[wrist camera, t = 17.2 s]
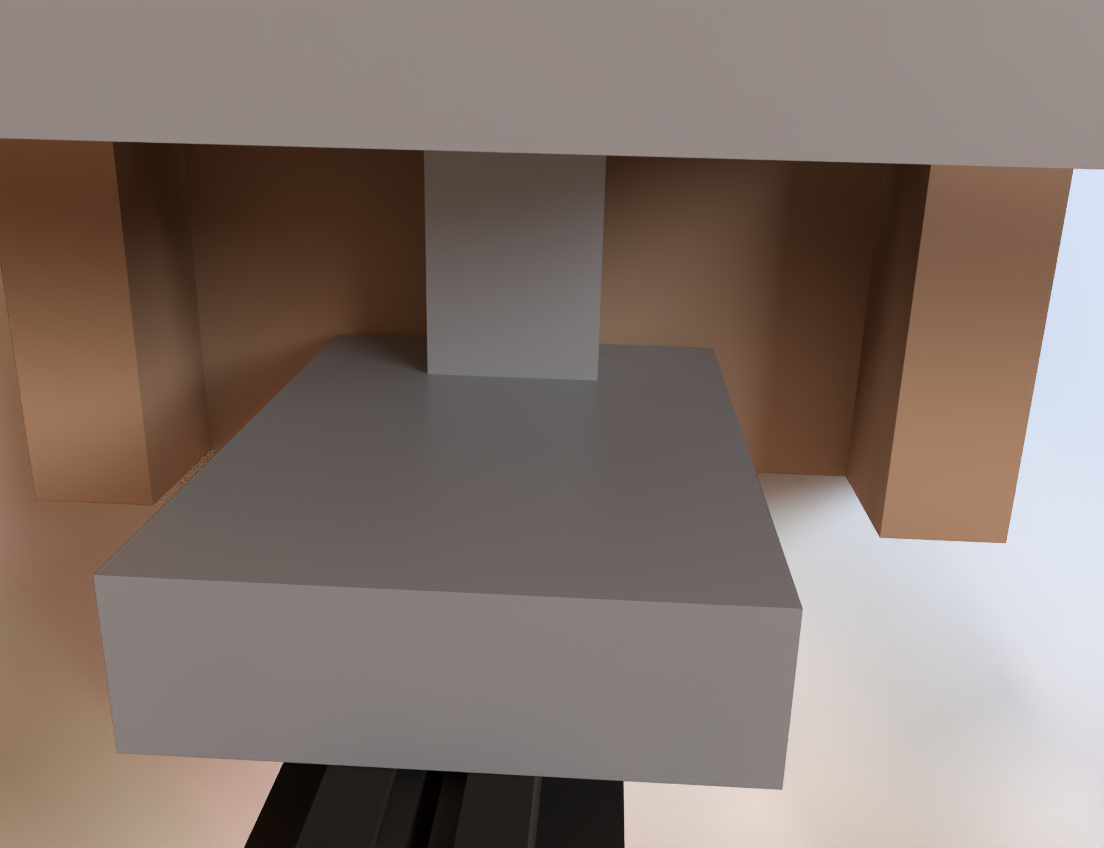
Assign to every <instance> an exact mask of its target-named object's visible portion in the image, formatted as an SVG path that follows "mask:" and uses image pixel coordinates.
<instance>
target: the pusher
mask: <svg viewBox="0 0 1104 848" xmlns="http://www.w3.org/2000/svg"><path fill="white" fill-rule="evenodd" d="M0 138H10V139H46V140H81V141H117V142H152V143H188V144H223V145H258V146H294V147H329V148H365V149H400V150H424V179H425V240H426V301H427V337H400V336H373V335H345V334H338V335H337V336H336V337H334V338H333V339H332V340H331V341H330V342H329V343H328V344H327V345H326V346H325V347H324V348H323V349H322V350H321V351H320V352H319V353H318V354H317V355H316V356H315V357H314V358H313V359H312V360H311V361H310V362H309V363H308V364H307V365H306V366H305V367H304V368H303V369H302V370H301V371H300V372H299V373H298V374H297V375H296V376H295V377H294V378H293V379H292V380H291V381H290V382H289V383H288V384H287V385H286V386H285V387H284V388H283V389H282V390H281V391H280V392H279V393H278V394H277V395H276V396H275V397H274V398H273V399H272V400H271V401H269V402H268V403H267V404H266V405H265V406H264V407H263V408H262V409H261V410H260V411H259V412H258V413H257V414H256V415H255V416H254V417H253V418H252V419H251V420H250V421H249V422H248V423H247V424H246V425H245V426H244V427H243V428H242V429H241V430H240V431H239V432H238V433H237V434H236V435H235V436H234V437H233V438H232V439H231V440H230V441H229V442H228V443H227V444H226V445H225V446H224V447H223V448H222V449H221V450H220V451H219V452H218V453H217V454H216V455H215V456H214V457H213V458H212V459H211V460H210V461H209V462H208V463H207V464H205V465H204V466H203V467H202V468H201V469H200V470H199V471H198V472H197V473H196V474H195V475H194V476H193V477H192V478H191V479H190V480H189V481H188V482H187V483H186V484H185V485H184V486H183V487H182V488H181V489H180V490H179V491H178V492H177V493H176V494H175V495H174V496H173V497H172V498H171V499H170V500H169V501H168V502H167V503H166V504H165V505H164V506H163V507H162V508H161V509H160V510H159V511H158V512H157V513H156V514H155V515H154V516H153V517H152V518H151V519H150V520H149V521H148V522H147V523H146V524H145V525H144V526H143V527H142V528H140V529H139V530H138V531H137V532H136V533H135V534H134V535H133V536H132V537H131V538H130V539H129V540H128V541H127V542H126V543H125V544H124V545H123V546H122V547H121V548H120V549H119V550H118V551H117V552H116V553H115V554H114V555H113V556H112V557H111V558H110V559H109V560H108V561H107V562H106V563H105V564H104V565H103V566H102V567H101V568H100V569H99V570H98V571H97V572H96V573H95V574H94V575H93V577H94V585H95V592H96V600H97V607H98V615H99V622H100V630H101V637H102V645H103V652H104V660H105V667H106V675H107V682H108V690H109V697H110V705H111V712H112V720H113V727H114V735H115V742H116V750H117V753H130V754H148V755H166V756H184V757H202V758H220V759H238V760H256V761H274V762H292V763H310V764H328V765H346V766H364V767H382V768H400V769H418V770H436V771H454V772H472V773H490V774H508V775H526V776H544V777H562V778H580V779H598V780H616V781H634V782H652V783H671V784H689V785H707V786H725V787H743V788H761V789H779V790H782V786H783V777H784V769H785V760H786V751H787V742H788V733H789V725H790V716H791V707H792V698H793V689H794V681H795V672H796V663H797V654H798V645H799V636H800V628H801V619H802V610H803V608H802V606H801V603H800V600H799V597H798V594H797V591H796V588H795V585H794V582H793V579H792V576H791V573H790V571H789V568H788V565H787V562H786V559H785V556H784V553H783V550H782V547H781V544H780V541H779V538H778V536H777V533H776V530H775V527H774V524H773V521H772V518H771V515H770V512H769V509H768V506H767V503H766V501H765V498H764V495H763V492H762V489H761V486H760V483H759V480H758V477H757V474H756V471H755V469H754V466H753V463H752V460H751V457H750V454H749V451H748V448H747V445H746V442H745V439H744V436H743V434H742V431H741V428H740V425H739V422H738V419H737V416H736V413H735V410H734V407H733V404H732V401H731V399H730V396H729V393H728V390H727V387H726V384H725V381H724V378H723V375H722V372H721V369H720V366H719V364H718V361H717V358H716V355H715V352H714V349H713V348H702V347H674V346H647V345H619V344H599V331H600V305H601V279H602V253H603V227H604V201H605V175H606V155H612V156H648V157H683V158H719V159H754V160H789V161H825V162H860V163H896V164H931V165H966V166H1002V167H1037V168H1073V169H1104V0H0Z"/></svg>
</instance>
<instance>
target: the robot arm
mask: <svg viewBox="0 0 1104 848" xmlns="http://www.w3.org/2000/svg"><path fill="white" fill-rule="evenodd" d="M244 848H624V787H623V781H616V780H598V779H580V778H562V777H544V776H526V775H508V774H490V773H472V772H454V771H436V770H418V769H400V768H382V767H364V766H346V765H328V764H310V763H292V762H284V763H283V765H282V767H281V769H280V771H279V773H278V776H277V778H276V780H275V782H274V784H273V786H272V789H271V791H270V793H269V795H268V797H267V799H266V801H265V804H264V806H263V808H262V810H261V812H260V814H259V817H258V819H257V821H256V823H255V825H254V827H253V830H252V832H251V834H250V836H249V838H248V840H247V843H246V845H245V847H244Z"/></svg>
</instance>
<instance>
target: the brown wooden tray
mask: <svg viewBox="0 0 1104 848" xmlns="http://www.w3.org/2000/svg"><path fill="white" fill-rule="evenodd" d="M1072 174H1073V168H1037V167H1002V166H966V165H931V164H896V163H860V162H825V161H789V160H754V159H719V158H683V157H648V156H612V155H606V175H605V201H604V227H603V253H602V279H601V305H600V331H599V344H619V345H647V346H674V347H702V348H713V349H714V352H715V355H716V358H717V361H718V364H719V366H720V369H721V372H722V375H723V378H724V381H725V384H726V387H727V390H728V393H729V396H730V399H731V401H732V404H733V407H734V410H735V413H736V416H737V419H738V422H739V425H740V428H741V431H742V434H743V436H744V439H745V442H746V445H747V448H748V451H749V454H750V457H751V460H752V463H753V466H754V469H755V471H756V473H780V474H804V475H828V476H846V477H847V479H848V481H849V483H850V485H851V486H852V488H853V490H854V492H855V494H856V495H857V497H858V499H859V501H860V503H861V504H862V506H863V508H864V510H865V512H866V513H867V515H868V517H869V519H870V520H871V522H872V524H873V526H874V528H875V529H876V531H877V533H878V535H879V537H880V538H901V539H923V540H946V541H968V542H991V543H1006V540H1007V534H1008V528H1009V523H1010V517H1011V512H1012V506H1013V501H1014V495H1015V490H1016V484H1017V479H1018V473H1019V467H1020V462H1021V456H1022V451H1023V445H1024V440H1025V434H1026V429H1027V423H1028V418H1029V412H1030V407H1031V401H1032V395H1033V390H1034V384H1035V379H1036V373H1037V368H1038V362H1039V357H1040V351H1041V346H1042V340H1043V334H1044V329H1045V323H1046V318H1047V312H1048V307H1049V301H1050V296H1051V290H1052V285H1053V279H1054V274H1055V268H1056V262H1057V257H1058V251H1059V246H1060V240H1061V235H1062V229H1063V224H1064V218H1065V213H1066V207H1067V201H1068V196H1069V190H1070V185H1071V179H1072ZM0 263H1V270H2V277H3V283H4V290H5V297H6V303H7V310H8V317H9V323H10V330H11V337H12V344H13V350H14V357H15V364H16V370H17V377H18V384H19V390H20V397H21V404H22V411H23V417H24V424H25V431H26V437H27V444H28V451H29V457H30V464H31V471H32V478H33V484H34V491H35V498H36V500H44V501H67V502H89V503H112V504H134V505H154V504H155V503H156V502H157V501H158V500H159V499H160V498H161V497H162V496H163V495H164V494H165V493H166V492H167V491H168V490H169V489H170V488H171V487H172V486H173V485H174V484H175V483H176V482H177V481H179V480H180V479H181V478H182V477H183V476H184V475H185V474H186V473H187V472H188V471H189V470H190V469H191V468H192V467H193V466H194V465H195V464H196V463H197V462H198V461H199V460H200V459H201V458H202V457H204V456H205V455H206V454H207V453H208V452H209V451H210V450H221V449H222V448H223V447H224V446H225V445H226V444H227V443H228V442H229V441H230V440H231V439H232V438H233V437H234V436H235V435H236V434H237V433H238V432H239V431H240V430H241V429H242V428H243V427H244V426H245V425H246V424H247V423H248V422H249V421H250V420H251V419H252V418H253V417H254V416H255V415H256V414H257V413H258V412H259V411H260V410H261V409H262V408H263V407H264V406H265V405H266V404H267V403H268V402H269V401H271V400H272V399H273V398H274V397H275V396H276V395H277V394H278V393H279V392H280V391H281V390H282V389H283V388H284V387H285V386H286V385H287V384H288V383H289V382H290V381H291V380H292V379H293V378H294V377H295V376H296V375H297V374H298V373H299V372H300V371H301V370H302V369H303V368H304V367H305V366H306V365H307V364H308V363H309V362H310V361H311V360H312V359H313V358H314V357H315V356H316V355H317V354H318V353H319V352H320V351H321V350H322V349H323V348H324V347H325V346H326V345H327V344H328V343H329V342H330V341H331V340H332V339H333V338H334V337H336V336H337V335H338V334H345V335H373V336H400V337H427V301H426V240H425V179H424V150H400V149H365V148H329V147H294V146H258V145H223V144H188V143H152V142H117V141H81V140H46V139H10V138H0Z"/></svg>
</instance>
